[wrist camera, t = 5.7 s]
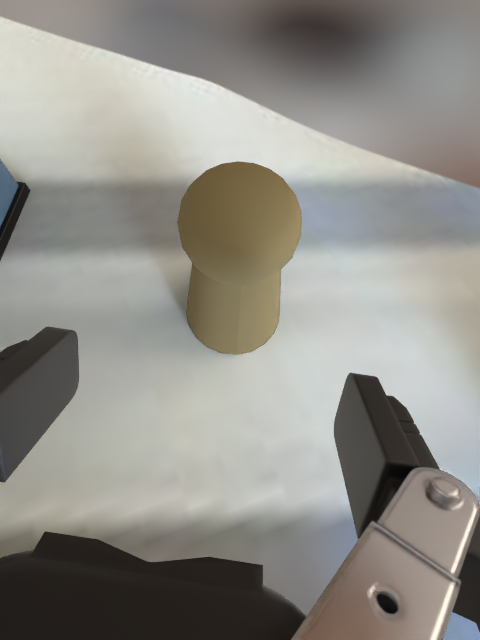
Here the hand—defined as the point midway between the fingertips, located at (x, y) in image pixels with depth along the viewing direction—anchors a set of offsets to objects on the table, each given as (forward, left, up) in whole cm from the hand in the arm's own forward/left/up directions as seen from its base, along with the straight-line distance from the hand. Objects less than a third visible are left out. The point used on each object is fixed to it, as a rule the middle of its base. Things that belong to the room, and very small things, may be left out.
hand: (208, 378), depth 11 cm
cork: (-1, -7, -12) cm, 14 cm away
